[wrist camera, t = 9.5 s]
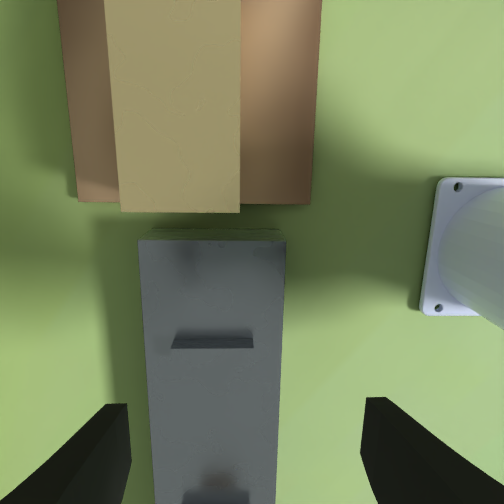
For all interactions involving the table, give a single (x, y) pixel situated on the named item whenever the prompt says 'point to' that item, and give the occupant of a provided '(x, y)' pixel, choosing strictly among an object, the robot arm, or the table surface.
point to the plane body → (213, 361)
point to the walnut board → (251, 99)
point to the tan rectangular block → (176, 103)
